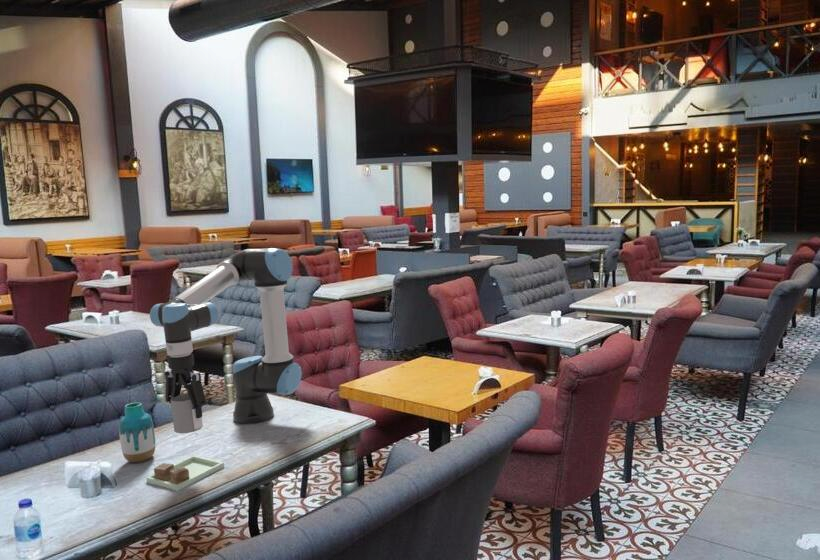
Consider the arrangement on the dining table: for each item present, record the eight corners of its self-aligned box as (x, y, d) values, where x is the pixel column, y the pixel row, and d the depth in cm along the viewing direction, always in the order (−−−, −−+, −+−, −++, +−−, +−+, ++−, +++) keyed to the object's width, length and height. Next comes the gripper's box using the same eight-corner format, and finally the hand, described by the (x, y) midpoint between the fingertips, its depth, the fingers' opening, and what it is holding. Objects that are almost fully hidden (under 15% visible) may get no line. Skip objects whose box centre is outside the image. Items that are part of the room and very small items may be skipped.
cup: (193, 433, 201) (190, 401, 200) (169, 433, 203) (165, 401, 202) (207, 423, 210) (204, 392, 208) (183, 423, 211) (180, 392, 210)
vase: (144, 467, 215) (137, 410, 212) (116, 466, 217) (108, 410, 214) (164, 454, 225) (157, 399, 222) (136, 453, 227) (129, 399, 225)
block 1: (164, 475, 206) (163, 463, 206) (175, 476, 205) (173, 464, 204) (155, 480, 203) (153, 468, 202) (165, 482, 201) (164, 469, 200)
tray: (194, 461, 217) (193, 455, 217) (224, 468, 210) (223, 462, 210) (147, 484, 202) (146, 477, 202) (177, 492, 195) (177, 486, 195)
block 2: (184, 478, 203) (182, 466, 202) (189, 482, 200) (188, 469, 199) (171, 483, 200) (169, 470, 199) (177, 487, 197) (175, 474, 197)
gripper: (147, 354, 206) (156, 425, 209) (193, 360, 194) (202, 434, 198) (167, 348, 212) (175, 417, 215) (213, 354, 201) (221, 426, 204)
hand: (188, 425), depth 206 cm, fingers closed on cup, 8 cm apart
